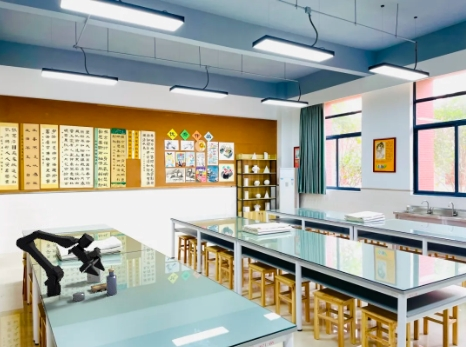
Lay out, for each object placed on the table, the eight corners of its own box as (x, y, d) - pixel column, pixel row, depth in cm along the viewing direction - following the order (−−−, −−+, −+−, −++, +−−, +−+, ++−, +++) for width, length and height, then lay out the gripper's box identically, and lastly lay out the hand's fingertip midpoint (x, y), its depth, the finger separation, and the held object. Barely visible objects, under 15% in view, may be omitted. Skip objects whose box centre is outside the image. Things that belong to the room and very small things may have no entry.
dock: (93, 292, 199) (93, 289, 199) (90, 289, 204) (90, 286, 204) (111, 289, 204) (111, 285, 204) (108, 285, 210) (108, 282, 210)
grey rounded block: (73, 302, 185) (73, 297, 185) (71, 299, 190) (71, 293, 190) (85, 300, 188) (85, 294, 188) (83, 296, 193) (83, 291, 193)
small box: (103, 278, 223) (102, 258, 223) (100, 282, 217) (100, 261, 217) (90, 279, 222) (89, 259, 222) (86, 282, 216) (86, 262, 216)
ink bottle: (108, 296, 193) (107, 271, 193) (105, 293, 198) (104, 268, 197) (118, 294, 196) (117, 269, 196) (115, 291, 201) (114, 267, 201)
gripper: (84, 247, 187) (105, 267, 187) (97, 240, 206) (116, 258, 206) (69, 262, 187) (91, 282, 188) (84, 253, 206) (104, 271, 206)
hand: (101, 273), depth 197 cm, fingers open, 9 cm apart
